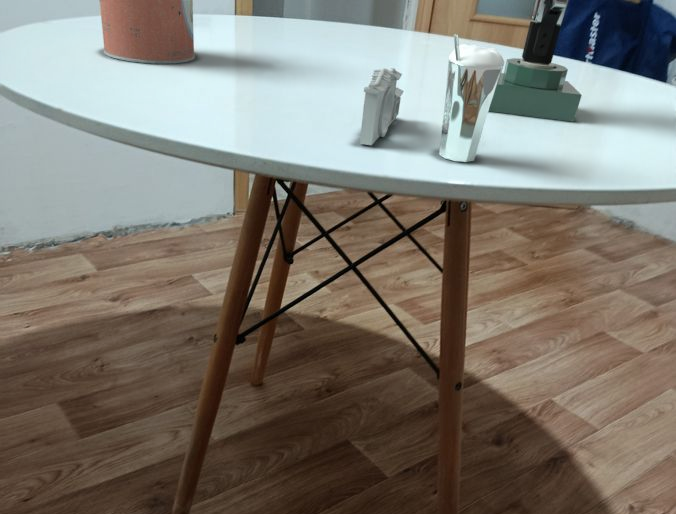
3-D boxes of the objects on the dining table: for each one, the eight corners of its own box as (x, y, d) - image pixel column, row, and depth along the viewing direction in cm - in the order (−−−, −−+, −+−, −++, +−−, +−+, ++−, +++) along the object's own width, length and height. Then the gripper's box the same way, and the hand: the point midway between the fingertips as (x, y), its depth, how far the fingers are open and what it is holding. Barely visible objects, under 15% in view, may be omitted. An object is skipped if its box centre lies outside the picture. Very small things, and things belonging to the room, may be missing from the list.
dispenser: (560, 106, 80) (572, 63, 77) (573, 121, 74) (587, 76, 71) (482, 96, 81) (491, 53, 78) (487, 111, 74) (498, 64, 71)
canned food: (193, 66, 78) (190, -48, 72) (97, 59, 76) (84, -59, 70) (196, 50, 87) (193, -53, 81) (110, 43, 85) (100, -63, 79)
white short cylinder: (546, 79, 77) (551, 61, 76) (552, 86, 74) (557, 67, 72) (513, 75, 77) (518, 57, 76) (518, 81, 74) (522, 62, 73)
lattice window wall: (383, 116, 67) (391, 55, 64) (400, 119, 67) (409, 58, 63) (355, 145, 57) (363, 75, 54) (374, 148, 57) (384, 78, 53)
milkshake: (415, 152, 57) (435, 29, 51) (455, 146, 60) (479, 29, 54) (451, 168, 54) (477, 39, 49) (492, 161, 57) (521, 39, 51)
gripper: (645, -137, 58) (581, 78, 68) (605, -125, 70) (556, 55, 80) (563, -147, 58) (511, 69, 68) (537, -133, 70) (497, 48, 80)
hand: (535, 61), depth 74 cm, fingers closed
